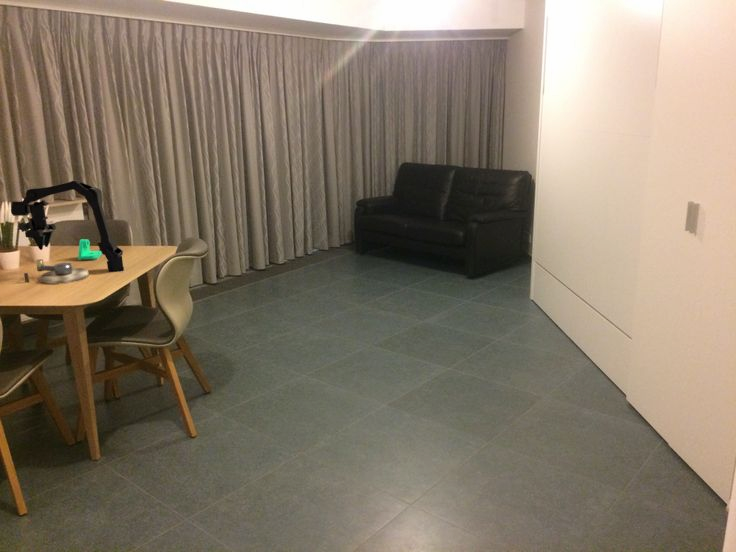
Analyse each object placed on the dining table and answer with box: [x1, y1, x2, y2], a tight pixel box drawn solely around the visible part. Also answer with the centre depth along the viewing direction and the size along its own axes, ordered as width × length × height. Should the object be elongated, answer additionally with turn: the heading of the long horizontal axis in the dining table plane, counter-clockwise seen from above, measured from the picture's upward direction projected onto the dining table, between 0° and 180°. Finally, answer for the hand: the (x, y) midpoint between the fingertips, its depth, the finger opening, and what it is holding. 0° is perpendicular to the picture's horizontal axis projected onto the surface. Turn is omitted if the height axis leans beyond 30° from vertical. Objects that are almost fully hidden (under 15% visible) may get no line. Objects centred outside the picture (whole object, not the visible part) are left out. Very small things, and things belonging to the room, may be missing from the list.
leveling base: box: [23, 267, 90, 285], centre depth 260 cm, size 26×20×4 cm
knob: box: [35, 258, 73, 275], centre depth 261 cm, size 17×7×6 cm, turn 78°
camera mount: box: [77, 238, 103, 260], centre depth 297 cm, size 12×8×10 cm, turn 4°
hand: (43, 248), depth 267 cm, fingers open, 6 cm apart
